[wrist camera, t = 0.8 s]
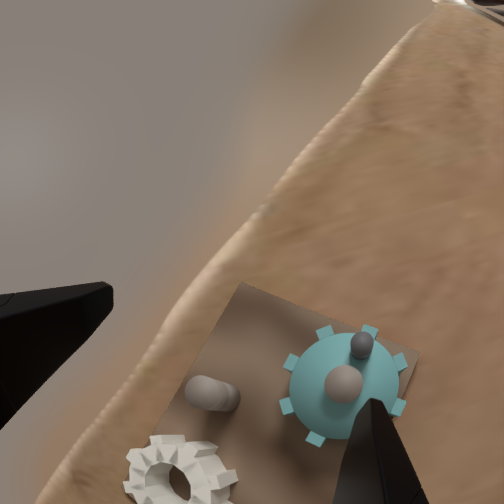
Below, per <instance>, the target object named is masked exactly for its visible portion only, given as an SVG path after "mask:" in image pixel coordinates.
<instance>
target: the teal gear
mask: <svg viewBox="0 0 504 504" xmlns="http://www.w3.org/2000/svg"><path fill="white" fill-rule="evenodd" d="M316 333H317V335H318V338H319V341H318V342H316V343H314V344H313V345H312V346H311V347H309V348H308V349H307V350H306V351H305V352H304V353H303V354H302V356H301V357H298V356H295V355H293V354H291V353H290V354H289V356H288V358H287V360H286V362H285V364H284V366H283V368H285V369H286V370H288V371H289V372H290V373H292V375H291V379H290V387H289V393H290V397H287V398H284V399H281V400H279V402H280V406H281V409H282V412H283V415H297V417H298V418H299V420H300V421H301V422H302V423H303V424H304V425H305V426H306V427H307V428H308V429H310V430H311V431H310V433H309V435H308V437H307V438H306V440H305V441H307V442H310V443H312V444H314V445H316V446H318V447H321V446H322V445H323V444H324V443H325V442H326V440H327V438H331V439H349V436H350V433H351V430H352V427H353V423H354V420H355V417H356V415H357V413H358V412H359V411H360V409H361V408H362V407H363V405H364V404H365V403H366V401H367V400H368V399H369V398H375V399H379V400H381V401H382V402H383V403H384V405H385V407H386V409H387V411H388V413H389V415H390V416H394V417H400V415H401V413H402V411H403V409H404V407H405V405H406V402H407V401H405V400H402V399H399V398H397V394H398V389H399V376H398V375H399V374H401V373H402V372H403V371H404V370H405V369H406V368H407V367H408V365H407V363H406V360H405V358H404V355H403V353H402V352H401V353H399V354H397V355H395V356H393V357H392V356H391V355H390V353H389V352H388V351H387V350H386V349H385V347H383V346H382V345H381V344H380V343H379V342H377V341H376V337H377V333H378V329H376V328H374V327H371V326H368V325H366V324H364V325H363V328H362V330H361V332H358V333H340V334H335V335H334V332H333V330H332V327H331V325H328V326H326V327H323V328H321V329H318V330H316ZM341 365H349V366H352V367H354V368H356V369H357V370H358V371H359V372H360V373H361V375H362V378H363V388H362V391H361V393H360V395H359V396H358V397H357V398H356V399H355V400H354V401H352V402H350V403H346V404H340V403H336V402H334V401H333V400H331V399H330V398H329V397H328V396H327V394H326V392H325V389H324V382H325V378H326V376H327V374H328V373H329V372H330V371H331V370H332V369H334V368H335V367H337V366H341Z"/></svg>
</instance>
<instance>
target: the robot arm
mask: <svg viewBox="0 0 504 504" xmlns="http://www.w3.org/2000/svg"><path fill="white" fill-rule="evenodd" d="M113 304H114V303H113V288H112V286H111V285H109V284H108V283H106V282H103V281H102V282H94V283H87V284H79V285H73V286H64V287H57V288H49V289H42V290H34V291H27V292H18V293H10V294H2V295H0V430H1V429H2V428H3V427H4V425H5V424H6V423H7V422H8V421H9V420H10V419H11V418H12V417H13V416H14V415H15V414H16V412H17V411H18V410H19V409H20V408H21V407H22V406H23V405H24V404H25V403H26V402H27V401H28V399H29V398H30V397H31V396H32V395H33V394H34V393H35V392H36V391H37V390H38V389H39V388H40V387H41V386H42V385H43V383H45V382H46V381H47V380H48V379H49V378H50V377H51V376H52V374H54V372H55V371H57V370H58V368H59V367H60V366H61V365H62V364H63V363H64V362H65V361H66V360H67V359H68V358H69V357H70V356H71V355H72V354H73V353H74V352H76V351H77V349H79V347H81V345H83V344H84V342H86V341H87V340H88V338H89V337H90V336H91V335H92V334H93V333H94V331H95V330H96V329H97V328H98V326H99V325H100V324H101V323H102V322H103V320H104V319H105V318H106V317H107V316H108V315H109V313H110V312H111V311H112V309H113ZM332 504H429V502H428V500H427V498H426V495H425V493H424V491H423V489H422V488H421V484H420V482H419V479H418V477H417V475H416V472H415V470H414V468H413V466H412V463H411V461H410V459H409V457H408V454H407V452H406V450H405V448H404V446H403V443H402V441H401V439H400V437H399V435H398V433H397V430H396V428H395V426H394V424H393V422H392V420H391V418H390V416H389V413H388V411H387V409H386V407H385V405H384V403H383V402H382V401H381V400H379V399H375V398H369V399H368V400H367V401H366V403H365V404H364V405H363V407H362V408H361V409H360V411H359V412H358V413H357V415H356V417H355V420H354V423H353V427H352V430H351V433H350V436H349V440H348V443H347V446H346V449H345V452H344V455H343V459H342V463H341V467H340V471H339V476H338V481H337V485H336V489H335V493H334V497H333V501H332Z"/></svg>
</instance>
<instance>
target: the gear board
mask: <svg viewBox="0 0 504 504" xmlns="http://www.w3.org/2000/svg"><path fill="white" fill-rule="evenodd" d="M328 325H331V327H332V330H333V332H334V335H335V334H340V333H358V332H361V330H360V329H357V328H355V327H352V326H350V325H347V324H344V323H342V322H339V321H337V320H334V319H332V318H329V317H326V316H324V315H321V314H319V313H316V312H314V311H311V310H309V309H306V308H304V307H301V306H299V305H296V304H294V303H291V302H289V301H286V300H284V299H281V298H279V297H276V296H274V295H272V294H269V293H267V292H264V291H262V290H259V289H257V288H255V287H252V286H250V285H247V284H245V283H243V282H240V284H239V286H238V288H237V289H236V291H235V293H234V295H233V296H232V298H231V300H230V301H229V303H228V305H227V307H226V308H225V310H224V312H223V314H222V315H221V317H220V319H219V320H218V322H217V324H216V326H215V327H214V329H213V331H212V333H211V334H210V336H209V338H208V339H207V341H206V343H205V345H204V346H203V348H202V350H201V351H200V353H199V355H198V357H197V358H196V360H195V362H194V364H193V365H192V367H191V369H190V370H189V372H188V374H187V376H186V377H185V379H184V381H183V382H182V384H181V386H180V387H179V389H178V391H177V393H176V394H175V396H174V398H173V399H172V401H171V403H170V405H169V406H168V408H167V410H166V411H165V413H164V415H163V417H162V418H161V420H160V422H159V423H158V425H157V427H156V428H155V430H154V432H153V434H152V435H151V436H155V435H184V436H185V440H186V442H195V441H210V442H211V443H213V444H214V445H216V446H218V447H219V448H218V449H217V451H216V453H215V454H216V455H217V456H219V458H220V460H221V461H222V463H223V465H224V467H225V468H226V470H232V469H235V471H236V474H237V478H238V481H237V482H235V483H232V484H230V497H229V499H228V501H230V502H231V503H233V504H332V501H333V497H334V493H335V489H336V485H337V481H338V476H339V471H340V467H341V463H342V459H343V455H344V452H345V449H346V446H347V443H348V440H349V439H331V438H327V440H326V442H325V443H324V444H323V445H322V446H321V447H318V446H316V445H314V444H312V443H310V442H307V441H305V440H306V438H307V437H308V435H309V433H310V431H311V430H310V429H308V428H307V427H306V426H305V425H304V424H303V423H302V422H301V421H300V420H299V418H298V417H297V415H283V412H282V409H281V406H280V402H279V400H281V399H284V398H287V397H290V393H289V387H290V379H291V375H292V373H290V372H289V371H288V370H286V369H285V368H283V366H284V364H285V362H286V360H287V358H288V356H289V354H290V353H291V354H293V355H295V356H298V357H301V356H302V354H303V353H304V352H305V351H306V350H307V349H308V348H309V347H311V346H312V345H313V344H314V343H316V342H318V341H319V338H318V335H317V333H316V330H318V329H321V328H323V327H326V326H328ZM376 341H377V342H379V343H380V344H381V345H382V346H383V347H385V349H386V350H387V351H388V352H389V353H390V355H391V356H392V357H393V356H395V355H397V354H399V353H401V352H402V353H403V355H404V358H405V360H406V363H407V365H408V367H407V368H406V369H405V370H404V371H403V372H402V373H401V374H399V375H398V376H399V389H398V394H397V398H399V399H401V398H402V396H403V394H404V391H405V389H406V387H407V384H408V382H409V380H410V377H411V375H412V372H413V370H414V367H415V365H416V362H417V360H418V357H419V354H420V352H419V351H417V350H414V349H411V348H408V347H406V346H403V345H400V344H397V343H395V342H392V341H389V340H387V339H384V338H381V337H379V336H377V337H376ZM362 388H363V378H362V375H361V373H360V372H359V371H358V370H357V369H356V368H354V367H352V366H349V365H341V366H337V367H335V368H334V369H332V370H331V371H330V372H329V373H328V374H327V376H326V378H325V382H324V389H325V392H326V394H327V396H328V397H329V398H330V399H331V400H333V401H334V402H336V403H340V404H346V403H350V402H352V401H354V400H355V399H356V398H357V397H358V396H359V395H360V393H361V391H362ZM389 416H390V415H389ZM392 417H393V416H390V418H391V419H392ZM150 445H151V441H150V439H149V440H148V442H147V444H146V445H145V447H144V448H146V447H148V446H150ZM125 481H130V477H129V474H128V476H127V478H126V479H125ZM169 483H170V485H171V487H172V489H173V491H174V492H175V493H176V494H177V495H178V496H180V497H181V498H182V499H184V500H186V501H189V500H190V498H191V485H190V483H189V481H188V479H187V477H186V476H185V474H184V472H182V471H181V470H180V469H178V468H177V467H176V466H175V465H173V467H172V468H171V470H170V471H169ZM121 488H122V489H123V490H124V491H125V488H124V484H122V486H121ZM127 494H128V495H130V496H131V497H132V498H133V499H134V500H135V498H134V495H133V493H127ZM135 501H136V500H135Z"/></svg>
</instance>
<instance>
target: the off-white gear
mask: <svg viewBox="0 0 504 504" xmlns="http://www.w3.org/2000/svg"><path fill="white" fill-rule="evenodd" d="M150 441H151V445H150V446H148V447H146V448H143V449H131V450H130V451H129V453H128V455H127V456H126V458H127V459H128V460H129V461H130V462H131V465H130V467H129V477H130V481H123V484H124V488H125V492H126V493H133V495H134V498H135V500H136V502H137V504H233V503H231V502H230V501H228V499H229V497H230V484H232V483H235V482H237V481H238V478H237V474H236V471H235V469H232V470H226V468H225V467H224V465H223V463H222V461H221V460H220V458H219V456H217V455H216V454H215V453H216V451H217V449H218V448H219V447H218V446H216V445H214V444H213V443H211V442H210V441H195V442H186V440H185V436H184V435H155V436H150ZM173 465H175V466H176V467H177V468H178V469H180V470H181V471H182V472H184V474H185V476H186V477H187V479H188V481H189V483H190V485H191V498H190V500H189V501H186V500H184V499H182V498H181V497H180V496H178V495H177V494H176V493H175V492H174V491H173V489H172V487H171V485H170V483H169V471H170V470H171V468H172V467H173Z"/></svg>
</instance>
